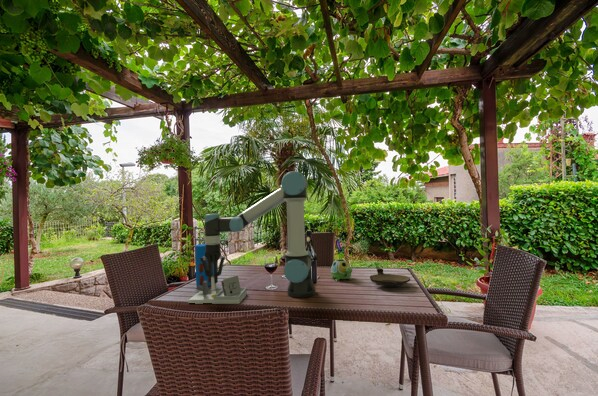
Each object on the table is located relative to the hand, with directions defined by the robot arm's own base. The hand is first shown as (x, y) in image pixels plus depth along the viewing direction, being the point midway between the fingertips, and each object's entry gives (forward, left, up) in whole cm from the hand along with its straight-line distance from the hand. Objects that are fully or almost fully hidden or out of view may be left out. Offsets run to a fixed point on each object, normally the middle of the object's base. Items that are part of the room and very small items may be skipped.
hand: (213, 289), depth 153 cm
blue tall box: (+16, -27, -6) cm, 32 cm away
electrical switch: (-8, -4, -4) cm, 10 cm away
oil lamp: (-95, -27, -6) cm, 99 cm away
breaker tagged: (+5, 0, -3) cm, 5 cm away
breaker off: (+5, -6, -3) cm, 9 cm away
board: (-1, -3, -6) cm, 7 cm away
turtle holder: (-68, -39, -6) cm, 79 cm away
